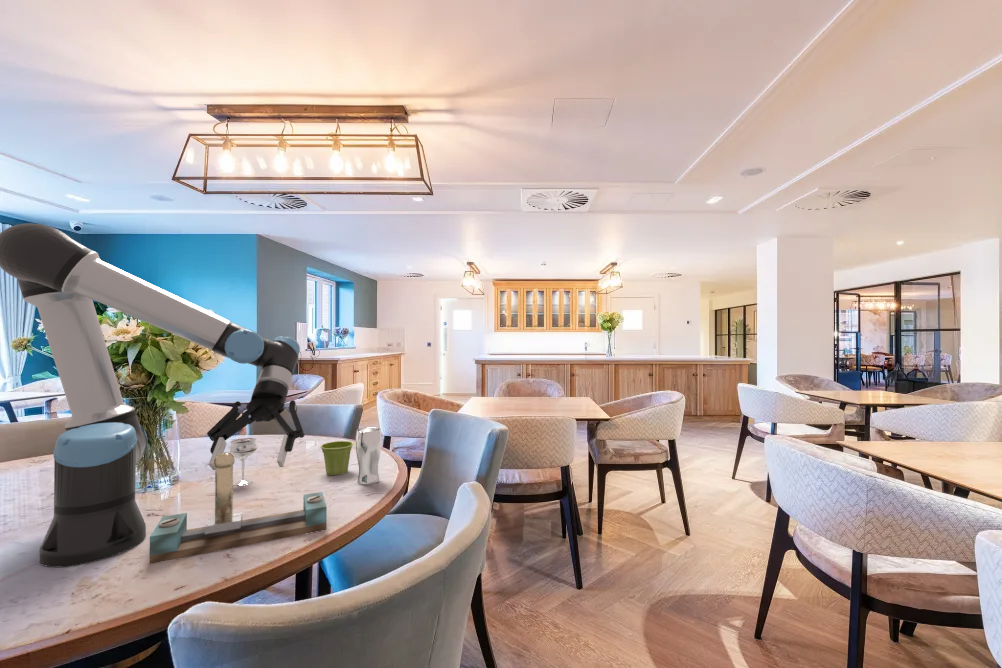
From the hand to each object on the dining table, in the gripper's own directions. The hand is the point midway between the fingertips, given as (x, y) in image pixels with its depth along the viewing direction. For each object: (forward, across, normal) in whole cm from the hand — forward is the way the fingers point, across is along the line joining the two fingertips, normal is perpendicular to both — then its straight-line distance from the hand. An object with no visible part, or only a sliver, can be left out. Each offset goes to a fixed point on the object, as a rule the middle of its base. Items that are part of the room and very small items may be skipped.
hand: (246, 465), depth 93 cm
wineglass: (-12, +14, -32) cm, 37 cm away
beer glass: (-9, -22, -29) cm, 37 cm away
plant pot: (-16, -11, -36) cm, 41 cm away
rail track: (+12, -2, -6) cm, 14 cm away
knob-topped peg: (+12, +2, -3) cm, 12 cm away
